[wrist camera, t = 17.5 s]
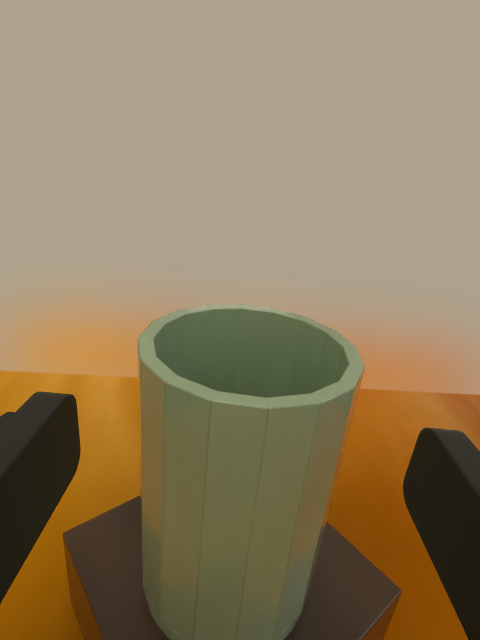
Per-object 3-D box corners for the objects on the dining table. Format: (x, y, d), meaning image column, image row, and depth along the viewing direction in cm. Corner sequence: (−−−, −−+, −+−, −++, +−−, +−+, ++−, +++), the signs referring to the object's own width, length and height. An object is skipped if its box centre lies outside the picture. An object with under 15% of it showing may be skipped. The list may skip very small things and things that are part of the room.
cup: (238, 475, 18) (259, 295, 14) (342, 581, 13) (407, 361, 10) (114, 543, 14) (102, 322, 11) (203, 719, 10) (231, 445, 6)
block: (237, 500, 21) (243, 444, 20) (377, 655, 15) (402, 590, 13) (70, 599, 16) (62, 532, 14) (179, 913, 9) (184, 851, 8)
